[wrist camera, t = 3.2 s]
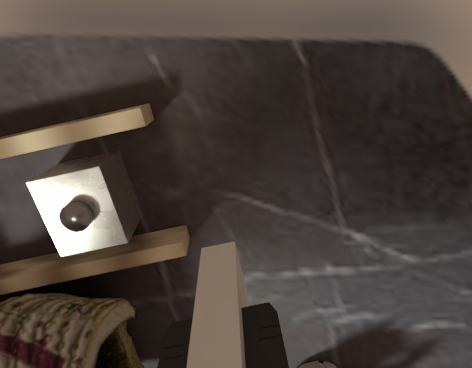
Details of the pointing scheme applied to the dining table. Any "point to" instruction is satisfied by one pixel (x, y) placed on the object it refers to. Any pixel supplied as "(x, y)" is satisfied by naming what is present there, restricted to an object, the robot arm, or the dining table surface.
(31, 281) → the channel
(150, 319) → the dining table surface
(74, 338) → the sculptural head
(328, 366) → the mug
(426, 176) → the dining table surface
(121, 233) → the block
